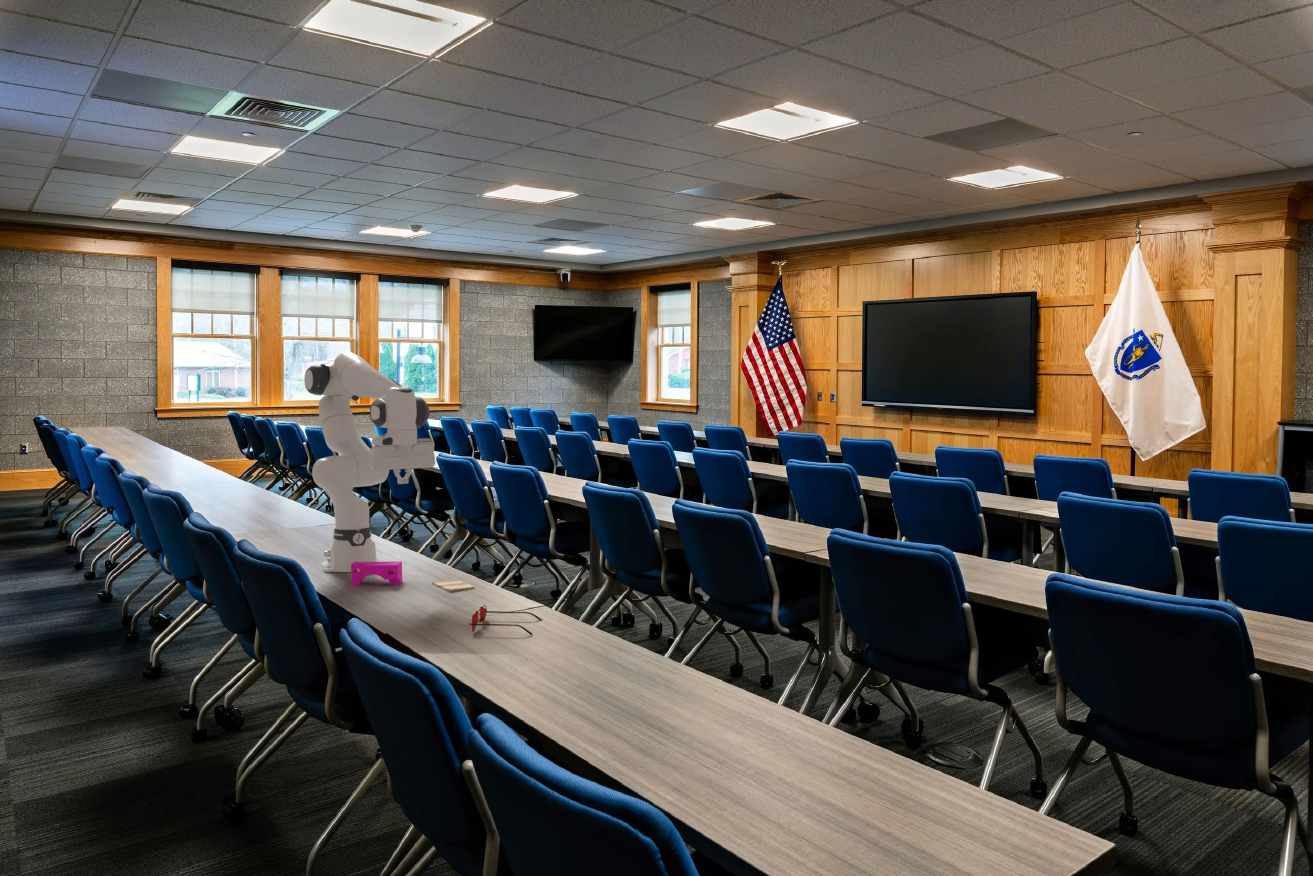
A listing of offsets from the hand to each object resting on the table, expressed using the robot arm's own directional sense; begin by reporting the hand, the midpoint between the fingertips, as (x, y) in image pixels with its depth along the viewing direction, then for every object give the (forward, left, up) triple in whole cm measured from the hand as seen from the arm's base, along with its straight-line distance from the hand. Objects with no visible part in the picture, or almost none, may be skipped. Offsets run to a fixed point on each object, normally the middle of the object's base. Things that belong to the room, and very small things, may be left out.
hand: (402, 483), depth 276 cm
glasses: (+60, +4, -34) cm, 69 cm away
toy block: (-9, -6, -26) cm, 28 cm away
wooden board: (+8, +13, -33) cm, 36 cm away
